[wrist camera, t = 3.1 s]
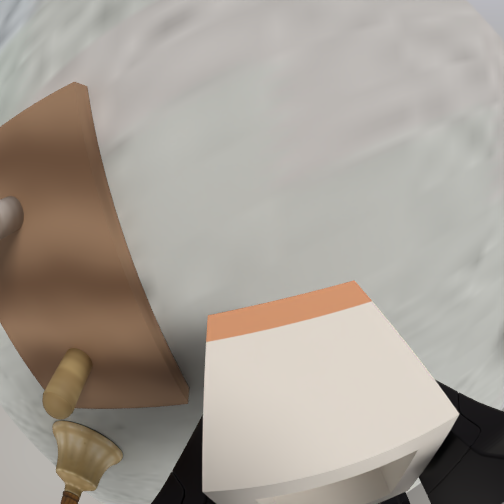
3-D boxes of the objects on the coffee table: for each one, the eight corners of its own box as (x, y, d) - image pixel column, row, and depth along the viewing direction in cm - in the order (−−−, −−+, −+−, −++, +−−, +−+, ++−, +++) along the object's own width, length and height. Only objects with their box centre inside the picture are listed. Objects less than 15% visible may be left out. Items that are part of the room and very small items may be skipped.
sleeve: (353, 378, 11) (408, 490, 6) (241, 406, 11) (256, 533, 6) (354, 280, 9) (459, 413, 4) (207, 315, 9) (202, 491, 4)
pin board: (189, 388, 18) (183, 464, 12) (64, 395, 18) (40, 451, 12) (87, 86, 11) (12, 63, 5) (-39, 167, 11) (-102, 188, 5)
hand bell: (67, 450, 22) (41, 553, 7) (42, 411, 19) (-2, 533, 5) (129, 467, 23) (116, 581, 8) (113, 431, 20) (87, 576, 6)
